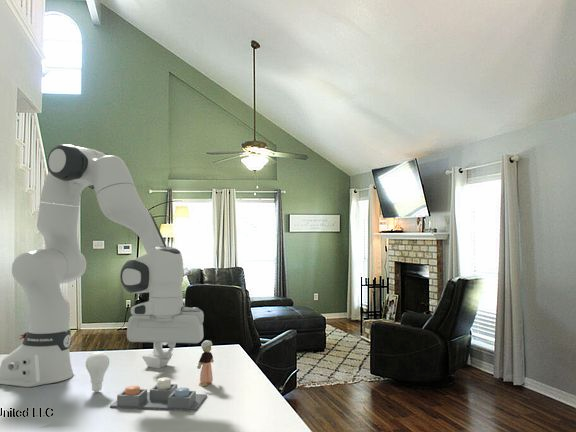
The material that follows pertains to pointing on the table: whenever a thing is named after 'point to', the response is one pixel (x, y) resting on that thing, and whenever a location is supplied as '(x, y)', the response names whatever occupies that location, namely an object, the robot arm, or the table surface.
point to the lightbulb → (97, 369)
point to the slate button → (182, 392)
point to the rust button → (132, 390)
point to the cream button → (164, 383)
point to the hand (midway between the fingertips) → (164, 359)
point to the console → (159, 400)
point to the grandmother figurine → (206, 364)
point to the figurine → (155, 359)
